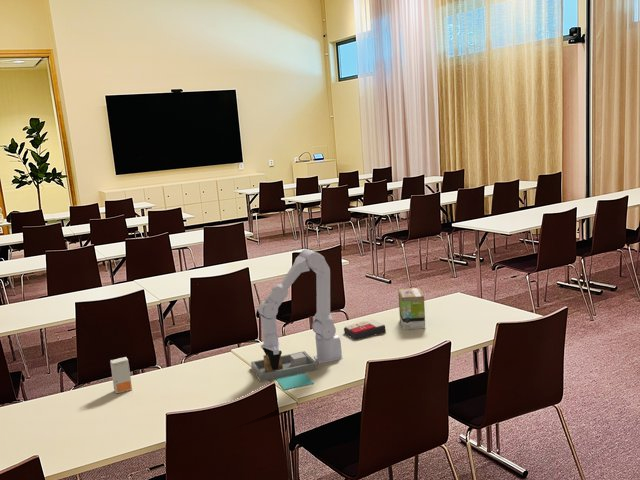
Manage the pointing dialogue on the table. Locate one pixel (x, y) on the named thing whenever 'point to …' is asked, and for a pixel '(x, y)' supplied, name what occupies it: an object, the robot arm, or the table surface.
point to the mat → (294, 381)
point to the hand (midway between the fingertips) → (273, 366)
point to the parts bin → (287, 368)
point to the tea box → (411, 308)
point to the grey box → (298, 359)
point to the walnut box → (268, 364)
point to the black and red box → (364, 329)
